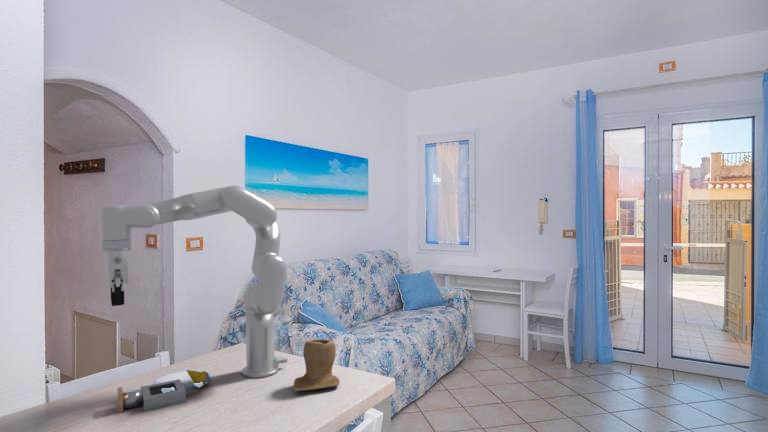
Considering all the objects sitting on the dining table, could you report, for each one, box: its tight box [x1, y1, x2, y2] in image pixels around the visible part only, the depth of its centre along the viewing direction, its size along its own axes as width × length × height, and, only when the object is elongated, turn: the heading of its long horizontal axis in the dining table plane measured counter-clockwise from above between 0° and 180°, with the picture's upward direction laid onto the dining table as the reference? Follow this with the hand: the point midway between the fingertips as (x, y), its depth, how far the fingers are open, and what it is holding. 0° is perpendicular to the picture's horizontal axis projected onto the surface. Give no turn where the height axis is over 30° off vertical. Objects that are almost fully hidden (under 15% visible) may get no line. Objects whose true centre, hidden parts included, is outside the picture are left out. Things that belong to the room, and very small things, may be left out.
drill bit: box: [186, 369, 211, 387], centre depth 141 cm, size 5×5×10 cm
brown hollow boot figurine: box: [293, 338, 341, 392], centre depth 142 cm, size 15×12×15 cm
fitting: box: [116, 378, 187, 414], centre depth 130 cm, size 17×11×6 cm, turn 123°
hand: (117, 302), depth 131 cm, fingers open, 9 cm apart
